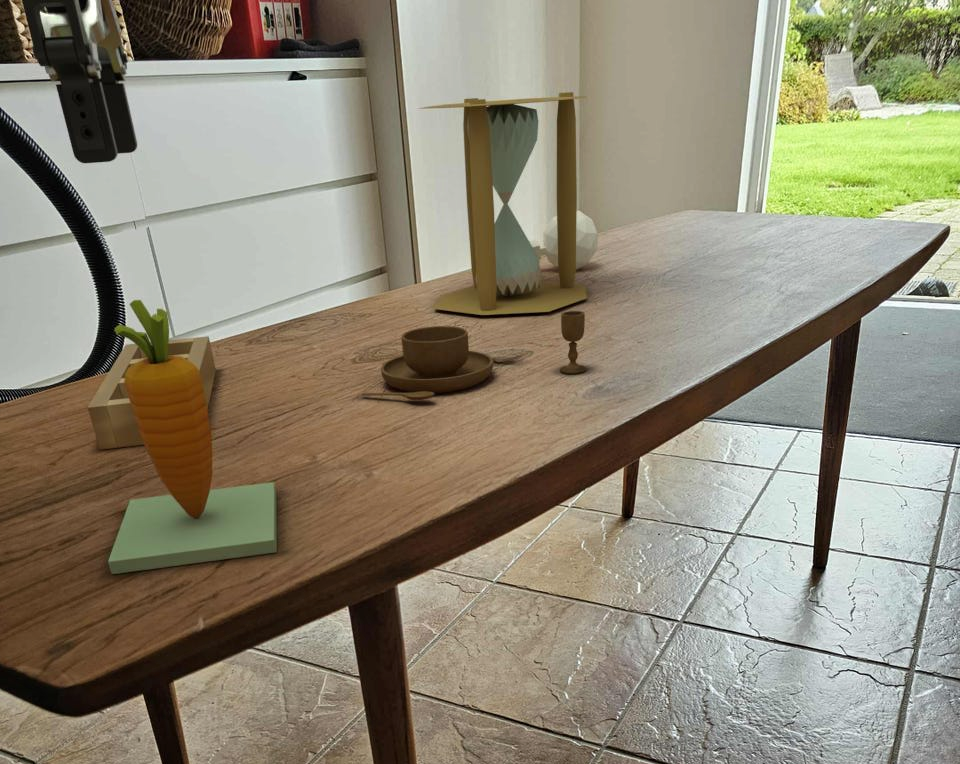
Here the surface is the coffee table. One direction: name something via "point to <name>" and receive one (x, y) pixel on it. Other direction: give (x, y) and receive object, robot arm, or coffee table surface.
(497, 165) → the hourglass
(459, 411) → the coffee table surface
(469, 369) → the place setting
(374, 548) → the coffee table surface
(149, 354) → the carrot
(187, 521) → the mat
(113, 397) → the rack
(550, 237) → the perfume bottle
